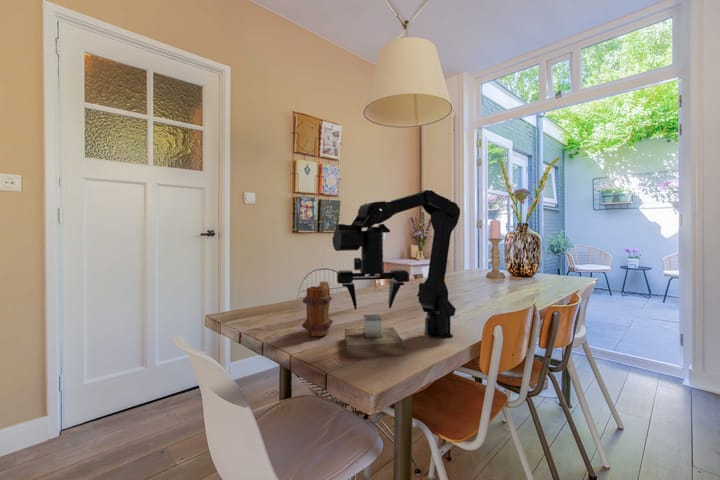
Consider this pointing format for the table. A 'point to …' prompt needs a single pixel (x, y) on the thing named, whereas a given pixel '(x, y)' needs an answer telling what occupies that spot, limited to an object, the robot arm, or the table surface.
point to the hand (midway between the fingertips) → (372, 308)
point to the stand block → (373, 343)
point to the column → (372, 326)
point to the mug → (318, 310)
